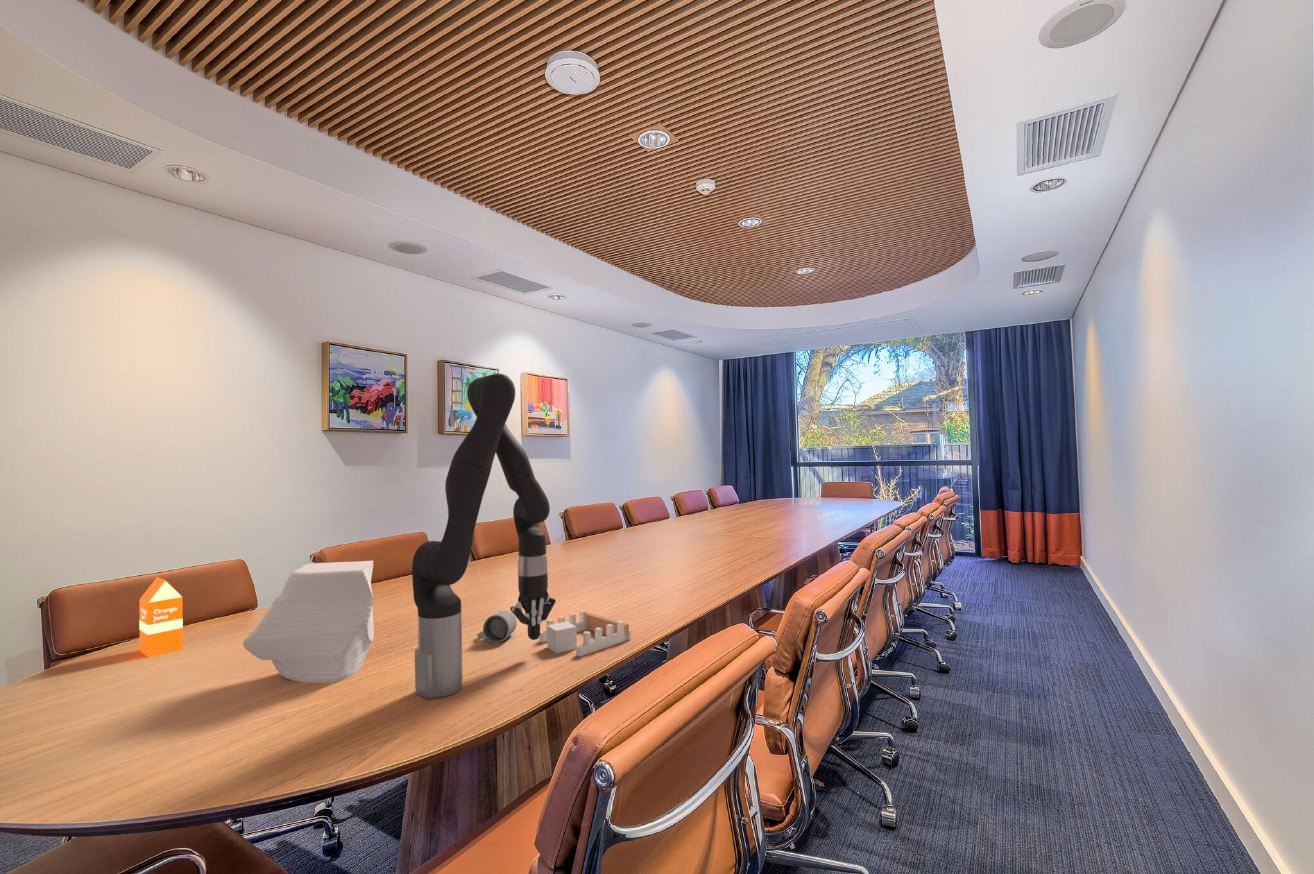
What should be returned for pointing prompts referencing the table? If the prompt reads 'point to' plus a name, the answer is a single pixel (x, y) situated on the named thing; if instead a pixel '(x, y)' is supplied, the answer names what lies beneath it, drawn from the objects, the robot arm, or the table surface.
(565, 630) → the white cube
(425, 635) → the robot arm
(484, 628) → the ceramic mug
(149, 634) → the orange juice
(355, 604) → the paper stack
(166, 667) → the table surface
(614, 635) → the notched wall frame
